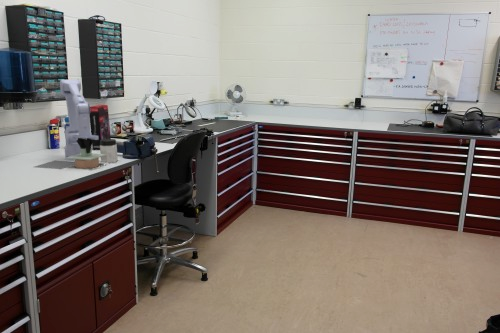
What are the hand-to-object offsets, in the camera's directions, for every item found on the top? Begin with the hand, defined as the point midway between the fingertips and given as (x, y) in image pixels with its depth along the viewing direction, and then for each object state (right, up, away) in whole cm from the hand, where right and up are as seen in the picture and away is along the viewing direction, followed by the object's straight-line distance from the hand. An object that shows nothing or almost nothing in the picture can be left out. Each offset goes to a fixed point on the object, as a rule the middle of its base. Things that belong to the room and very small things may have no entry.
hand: (86, 152), depth 215 cm
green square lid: (0, -2, +1) cm, 2 cm away
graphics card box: (-11, +5, +55) cm, 56 cm away
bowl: (0, -7, +2) cm, 7 cm away
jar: (+7, -4, +14) cm, 16 cm away
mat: (-16, -6, +3) cm, 18 cm away
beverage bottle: (-29, +5, +53) cm, 61 cm away
